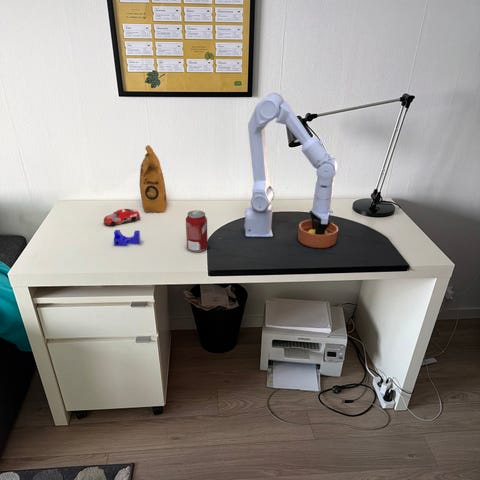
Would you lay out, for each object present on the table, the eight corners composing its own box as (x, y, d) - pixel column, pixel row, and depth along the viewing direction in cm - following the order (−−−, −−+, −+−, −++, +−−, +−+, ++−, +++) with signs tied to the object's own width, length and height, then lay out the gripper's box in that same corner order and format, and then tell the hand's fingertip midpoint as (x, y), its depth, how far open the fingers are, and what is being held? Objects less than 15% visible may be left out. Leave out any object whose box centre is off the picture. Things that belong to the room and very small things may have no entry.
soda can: (199, 255, 140) (198, 219, 133) (182, 249, 143) (181, 214, 136) (211, 247, 145) (211, 212, 138) (195, 242, 148) (194, 208, 141)
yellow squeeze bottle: (307, 241, 150) (308, 232, 148) (305, 236, 153) (307, 227, 150) (330, 241, 150) (332, 232, 148) (328, 236, 153) (330, 227, 151)
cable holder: (114, 245, 143) (112, 234, 141) (116, 241, 146) (115, 229, 144) (139, 246, 144) (137, 235, 141) (140, 241, 146) (139, 230, 144)
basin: (300, 249, 146) (302, 235, 143) (294, 232, 157) (296, 219, 154) (339, 249, 147) (341, 235, 144) (331, 232, 157) (333, 219, 155)
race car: (107, 228, 154) (105, 217, 152) (101, 222, 158) (100, 212, 156) (142, 220, 160) (140, 210, 158) (136, 215, 164) (135, 205, 162)
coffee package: (140, 213, 166) (133, 153, 153) (142, 201, 176) (136, 144, 163) (166, 213, 167) (162, 153, 154) (167, 201, 177) (163, 144, 164)
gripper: (340, 205, 137) (333, 244, 145) (330, 189, 149) (324, 226, 157) (317, 205, 137) (312, 244, 145) (309, 189, 148) (304, 226, 156)
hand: (317, 235), depth 151 cm, fingers open, 5 cm apart
